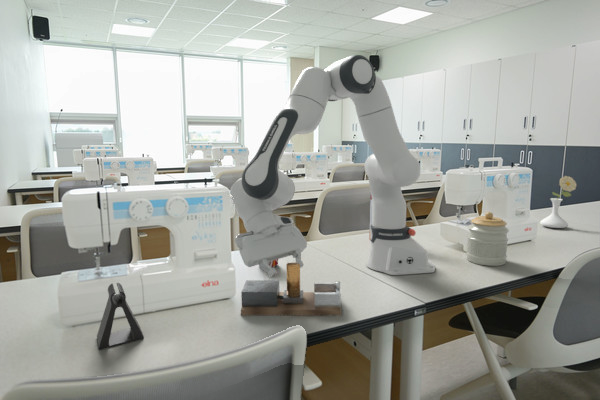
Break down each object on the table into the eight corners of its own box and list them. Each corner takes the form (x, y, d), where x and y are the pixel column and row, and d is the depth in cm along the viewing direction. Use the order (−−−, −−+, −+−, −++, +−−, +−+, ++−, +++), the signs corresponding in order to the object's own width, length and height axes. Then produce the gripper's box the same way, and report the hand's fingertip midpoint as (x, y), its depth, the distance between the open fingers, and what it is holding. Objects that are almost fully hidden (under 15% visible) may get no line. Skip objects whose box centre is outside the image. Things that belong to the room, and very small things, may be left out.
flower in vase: (543, 229, 184) (548, 176, 180) (537, 223, 195) (541, 174, 191) (575, 231, 180) (581, 177, 176) (567, 225, 191) (572, 174, 187)
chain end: (303, 295, 105) (303, 261, 103) (302, 303, 100) (302, 268, 98) (245, 295, 105) (244, 261, 104) (242, 303, 100) (241, 267, 99)
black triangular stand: (98, 350, 82) (93, 296, 80) (97, 337, 87) (92, 286, 85) (144, 338, 86) (140, 287, 84) (139, 327, 92) (136, 279, 90)
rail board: (337, 297, 108) (337, 292, 108) (340, 315, 97) (340, 309, 97) (247, 297, 108) (247, 292, 108) (241, 315, 97) (240, 309, 97)
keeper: (338, 294, 106) (339, 276, 105) (341, 307, 98) (341, 288, 97) (314, 294, 106) (314, 276, 105) (314, 307, 98) (314, 288, 97)
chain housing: (279, 294, 106) (279, 280, 106) (277, 307, 98) (276, 292, 98) (246, 294, 107) (246, 280, 106) (241, 306, 99) (241, 291, 98)
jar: (467, 264, 134) (471, 214, 131) (464, 253, 147) (467, 207, 144) (509, 268, 131) (514, 216, 128) (502, 256, 143) (506, 209, 140)
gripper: (237, 228, 99) (261, 275, 94) (295, 217, 113) (320, 256, 108) (227, 242, 103) (250, 287, 98) (285, 229, 117) (308, 268, 111)
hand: (287, 271), depth 103 cm, fingers open, 8 cm apart
